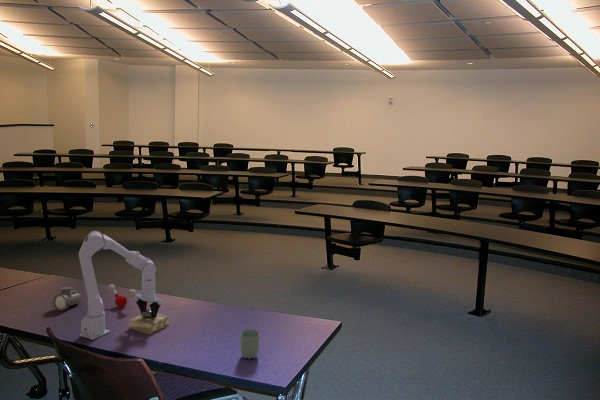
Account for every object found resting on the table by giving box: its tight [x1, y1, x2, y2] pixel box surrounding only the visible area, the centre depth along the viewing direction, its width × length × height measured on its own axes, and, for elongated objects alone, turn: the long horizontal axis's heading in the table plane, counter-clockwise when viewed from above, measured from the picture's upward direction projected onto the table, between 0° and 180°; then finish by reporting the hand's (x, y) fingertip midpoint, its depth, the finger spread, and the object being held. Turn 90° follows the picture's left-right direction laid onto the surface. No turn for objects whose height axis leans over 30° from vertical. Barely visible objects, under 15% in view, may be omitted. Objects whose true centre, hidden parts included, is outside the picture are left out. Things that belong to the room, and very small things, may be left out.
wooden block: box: [128, 313, 170, 335], centre depth 236 cm, size 12×12×4 cm
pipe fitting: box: [52, 286, 82, 312], centre depth 256 cm, size 12×8×10 cm, turn 159°
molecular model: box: [107, 284, 137, 308], centre depth 258 cm, size 18×6×10 cm, turn 62°
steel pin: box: [142, 308, 152, 321], centre depth 236 cm, size 5×5×6 cm
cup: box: [239, 328, 261, 360], centre depth 210 cm, size 8×8×10 cm
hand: (149, 316), depth 236 cm, fingers closed on steel pin, 5 cm apart
